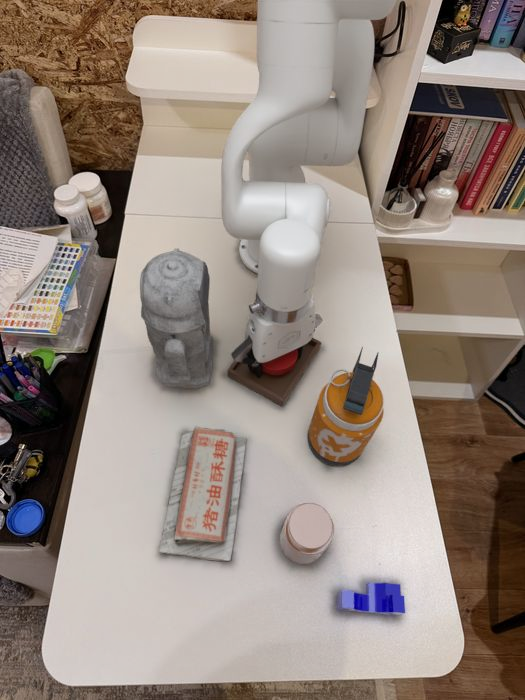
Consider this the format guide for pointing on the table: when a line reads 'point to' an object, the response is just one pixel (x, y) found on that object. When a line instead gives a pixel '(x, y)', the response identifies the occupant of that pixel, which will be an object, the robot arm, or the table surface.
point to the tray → (275, 376)
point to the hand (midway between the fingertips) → (275, 361)
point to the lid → (281, 363)
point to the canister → (346, 415)
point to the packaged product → (204, 495)
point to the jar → (306, 533)
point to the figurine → (178, 318)
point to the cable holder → (373, 599)
